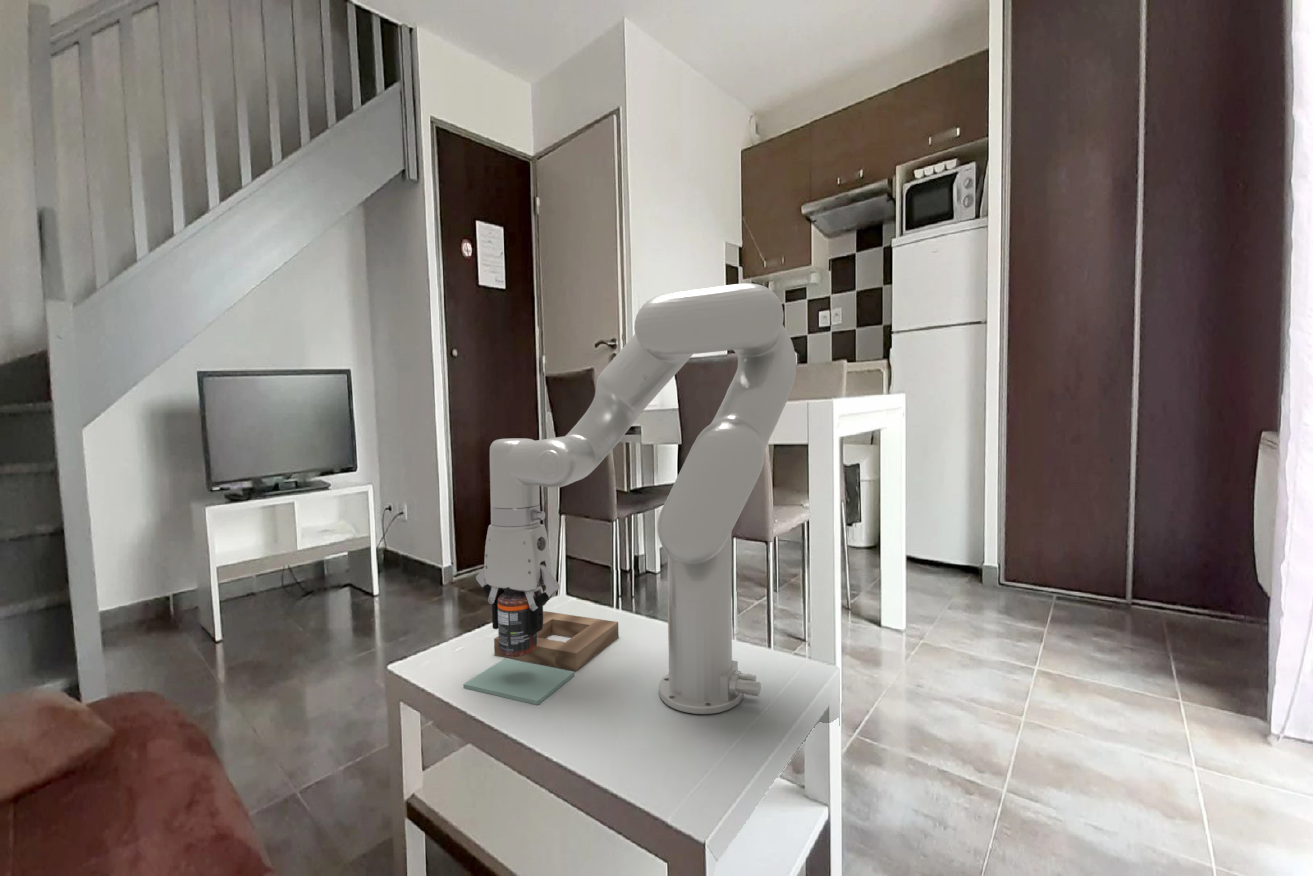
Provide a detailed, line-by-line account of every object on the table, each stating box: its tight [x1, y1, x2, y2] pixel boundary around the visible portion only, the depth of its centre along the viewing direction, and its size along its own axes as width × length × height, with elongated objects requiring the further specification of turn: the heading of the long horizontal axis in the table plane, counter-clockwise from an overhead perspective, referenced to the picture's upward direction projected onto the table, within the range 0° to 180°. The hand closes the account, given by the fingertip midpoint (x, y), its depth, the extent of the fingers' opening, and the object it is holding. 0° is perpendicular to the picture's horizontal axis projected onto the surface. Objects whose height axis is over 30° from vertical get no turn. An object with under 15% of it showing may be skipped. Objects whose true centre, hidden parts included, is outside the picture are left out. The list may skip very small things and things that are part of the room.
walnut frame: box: [493, 610, 620, 672], centre depth 102 cm, size 17×15×3 cm
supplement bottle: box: [497, 587, 537, 658], centre depth 88 cm, size 6×6×11 cm
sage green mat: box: [462, 657, 575, 706], centre depth 89 cm, size 14×10×1 cm
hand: (517, 628), depth 88 cm, fingers closed on supplement bottle, 6 cm apart
